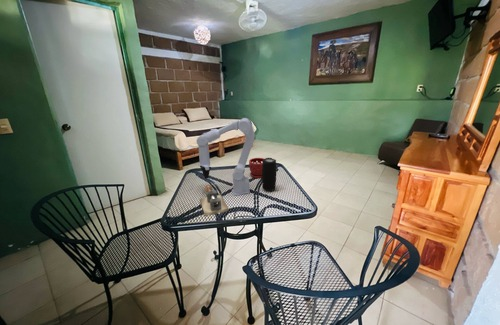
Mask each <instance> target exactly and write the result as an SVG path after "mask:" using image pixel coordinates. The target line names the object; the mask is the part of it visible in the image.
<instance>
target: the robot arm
mask: <svg viewBox="0 0 500 325" xmlns="http://www.w3.org/2000/svg"><path fill="white" fill-rule="evenodd" d="M234 130H235V131H241V132H242V133H243V135H244V137H245V140H244V143H243V147H242V150H241V153H240V156H239V159H238V163H237V164H236V166H235V167H234V170H233V173H232V182H233V184H232V186H233V187H232V189H231V192H232V193H233V196H240V195H245V194H250V193H251V191H250V190H251V189H250V188H251V187H250V178H249V177H248V176H245V168H246V165H247V162H248V159H249V156H250V153H251V149H252V146H253V143H254V141H255V137H256V134H255V131H254V127H253V124H252V122H251V121H250V119H249V118H247V117H242V118H241V119H237V120H235V121H232V122H231V123H228V124H226V125H224V126H222V127H220V128H219V129H217V128H211V129H210V131H207V132H203V133H202V134H201V135H199V136H198V137H197V138H196V144H197V146H198V156H199V163H197V166H199V167H200V170H201V172H202V175H203V177H204V179H205V180H207V179H209V176H210V171H211V168H212V167H211V161H210V160H211V159H210V150H209V149H210V147H209V144H210V143H212V142H215V141H216V140H218V139H220V138H221V135H223V134H226V133H228V132H230V131H234Z"/></svg>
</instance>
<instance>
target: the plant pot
mask: <svg viewBox="0 0 500 325" xmlns="http://www.w3.org/2000/svg"><path fill="white" fill-rule="evenodd" d="M264 159H265V158H264V157H254V158H250V159H249V160H248V166H249V171H250V173H249V174H250V176H251V177H252V178H254V179H262V178H261V177H262V165H263V160H264Z"/></svg>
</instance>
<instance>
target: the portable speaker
mask: <svg viewBox="0 0 500 325" xmlns="http://www.w3.org/2000/svg"><path fill="white" fill-rule="evenodd" d="M262 163H263V165H262V178H261V181H262V182H261V184H262V186H261V187H262V190H264V191H265V192H266V193H272V192H273V191H274V190H275V191H276V185H277V159H275V158H272V157H265V158H264V160H263V162H262Z"/></svg>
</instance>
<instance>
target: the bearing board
mask: <svg viewBox="0 0 500 325" xmlns="http://www.w3.org/2000/svg"><path fill="white" fill-rule="evenodd" d="M210 195H214V197H215V199H211V197H210ZM199 203H200V205H201V207H202V211H203V214H204V216H205V217H208V216H211V215H216V214H220V213H225V212H229V207H228V204H227V203H226V201H225V199H224V198H223V196H222V194H218V192H217V190H216V189H215V190H212V191H209V192H206V197H201V198H199ZM213 203H217V204H213Z"/></svg>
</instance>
